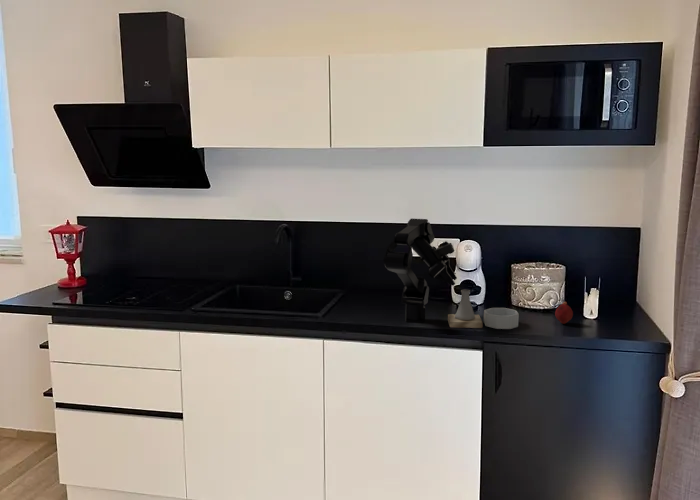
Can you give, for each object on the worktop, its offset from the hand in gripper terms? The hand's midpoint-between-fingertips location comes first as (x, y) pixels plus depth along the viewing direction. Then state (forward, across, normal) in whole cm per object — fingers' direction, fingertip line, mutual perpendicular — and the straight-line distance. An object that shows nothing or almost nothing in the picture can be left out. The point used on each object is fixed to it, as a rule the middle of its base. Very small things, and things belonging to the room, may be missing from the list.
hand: (455, 281), depth 229 cm
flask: (+11, -6, +6) cm, 14 cm away
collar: (+21, -4, -2) cm, 22 cm away
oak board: (+12, -6, +7) cm, 15 cm away
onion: (+36, +1, -17) cm, 40 cm away
